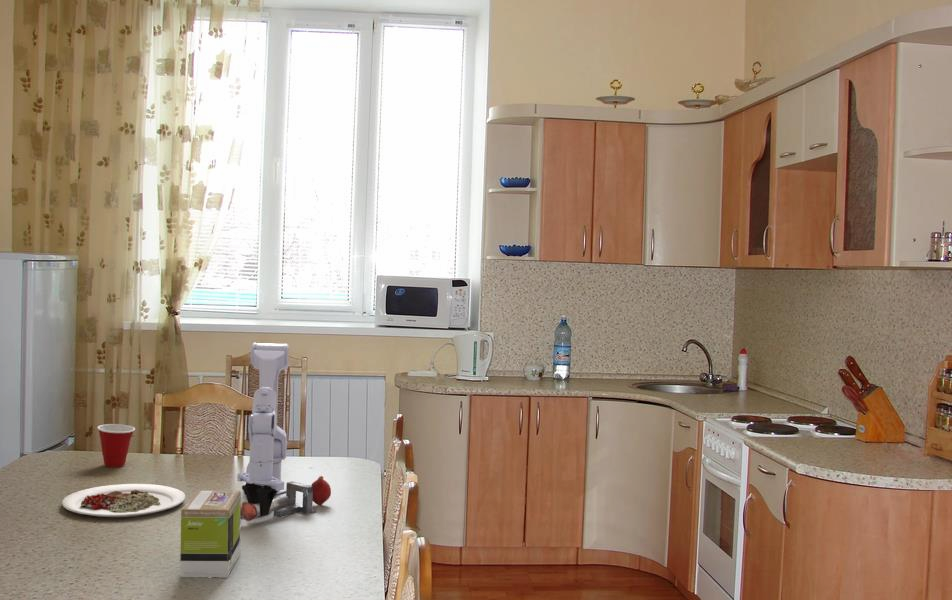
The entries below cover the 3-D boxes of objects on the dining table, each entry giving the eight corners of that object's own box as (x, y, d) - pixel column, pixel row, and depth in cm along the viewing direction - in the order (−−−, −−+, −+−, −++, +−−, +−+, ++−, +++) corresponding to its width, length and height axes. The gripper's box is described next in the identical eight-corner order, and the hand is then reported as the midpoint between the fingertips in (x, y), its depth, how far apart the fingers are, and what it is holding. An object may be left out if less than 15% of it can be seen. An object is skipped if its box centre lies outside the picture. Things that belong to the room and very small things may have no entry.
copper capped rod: (241, 519, 226) (241, 502, 225) (279, 508, 237) (280, 492, 236) (253, 522, 223) (253, 505, 223) (291, 511, 234) (292, 495, 234)
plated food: (206, 508, 239) (207, 495, 239) (93, 529, 217) (94, 515, 217) (151, 485, 259) (151, 473, 259) (42, 502, 237) (42, 489, 237)
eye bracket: (264, 513, 235) (265, 487, 235) (291, 505, 244) (292, 480, 243) (289, 520, 230) (290, 493, 230) (316, 512, 239) (317, 486, 238)
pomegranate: (325, 509, 242) (326, 479, 241) (305, 507, 243) (306, 477, 242) (333, 503, 247) (334, 474, 247) (313, 501, 248) (314, 472, 248)
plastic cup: (125, 470, 273) (127, 430, 273) (90, 468, 273) (91, 429, 273) (139, 462, 284) (140, 424, 284) (105, 460, 284) (106, 422, 284)
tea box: (194, 554, 202) (196, 488, 201) (240, 555, 203) (243, 489, 202) (178, 578, 187) (180, 507, 186) (228, 579, 188) (230, 508, 187)
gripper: (228, 458, 228) (227, 511, 228) (270, 467, 220) (268, 523, 221) (250, 453, 234) (248, 506, 234) (291, 462, 226) (289, 516, 226)
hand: (259, 513), depth 228 cm, fingers closed on copper capped rod, 3 cm apart
